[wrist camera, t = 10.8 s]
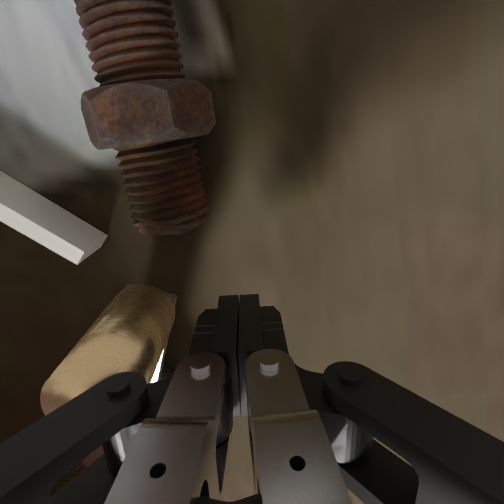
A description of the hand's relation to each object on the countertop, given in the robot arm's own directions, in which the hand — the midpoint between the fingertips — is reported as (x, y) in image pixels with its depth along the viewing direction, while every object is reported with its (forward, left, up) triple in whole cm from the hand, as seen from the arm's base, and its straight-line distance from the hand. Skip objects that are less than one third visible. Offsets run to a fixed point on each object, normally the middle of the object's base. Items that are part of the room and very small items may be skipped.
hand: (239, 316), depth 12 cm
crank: (+2, +7, -2) cm, 7 cm away
